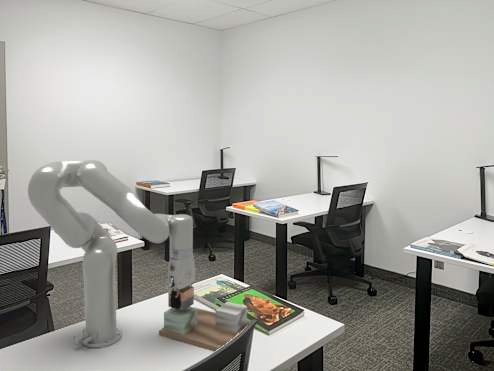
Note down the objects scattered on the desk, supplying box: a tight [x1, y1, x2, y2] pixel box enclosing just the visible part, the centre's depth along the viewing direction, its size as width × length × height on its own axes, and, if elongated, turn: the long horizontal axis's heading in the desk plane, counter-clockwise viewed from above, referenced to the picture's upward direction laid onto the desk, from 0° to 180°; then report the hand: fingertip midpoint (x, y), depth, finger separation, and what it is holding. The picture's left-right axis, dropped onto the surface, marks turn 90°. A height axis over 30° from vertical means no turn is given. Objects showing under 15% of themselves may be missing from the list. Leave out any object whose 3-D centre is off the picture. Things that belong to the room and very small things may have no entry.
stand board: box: [158, 301, 252, 352], centre depth 145 cm, size 21×24×8 cm
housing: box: [167, 285, 195, 310], centre depth 142 cm, size 6×6×7 cm
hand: (181, 303), depth 142 cm, fingers closed on housing, 6 cm apart
